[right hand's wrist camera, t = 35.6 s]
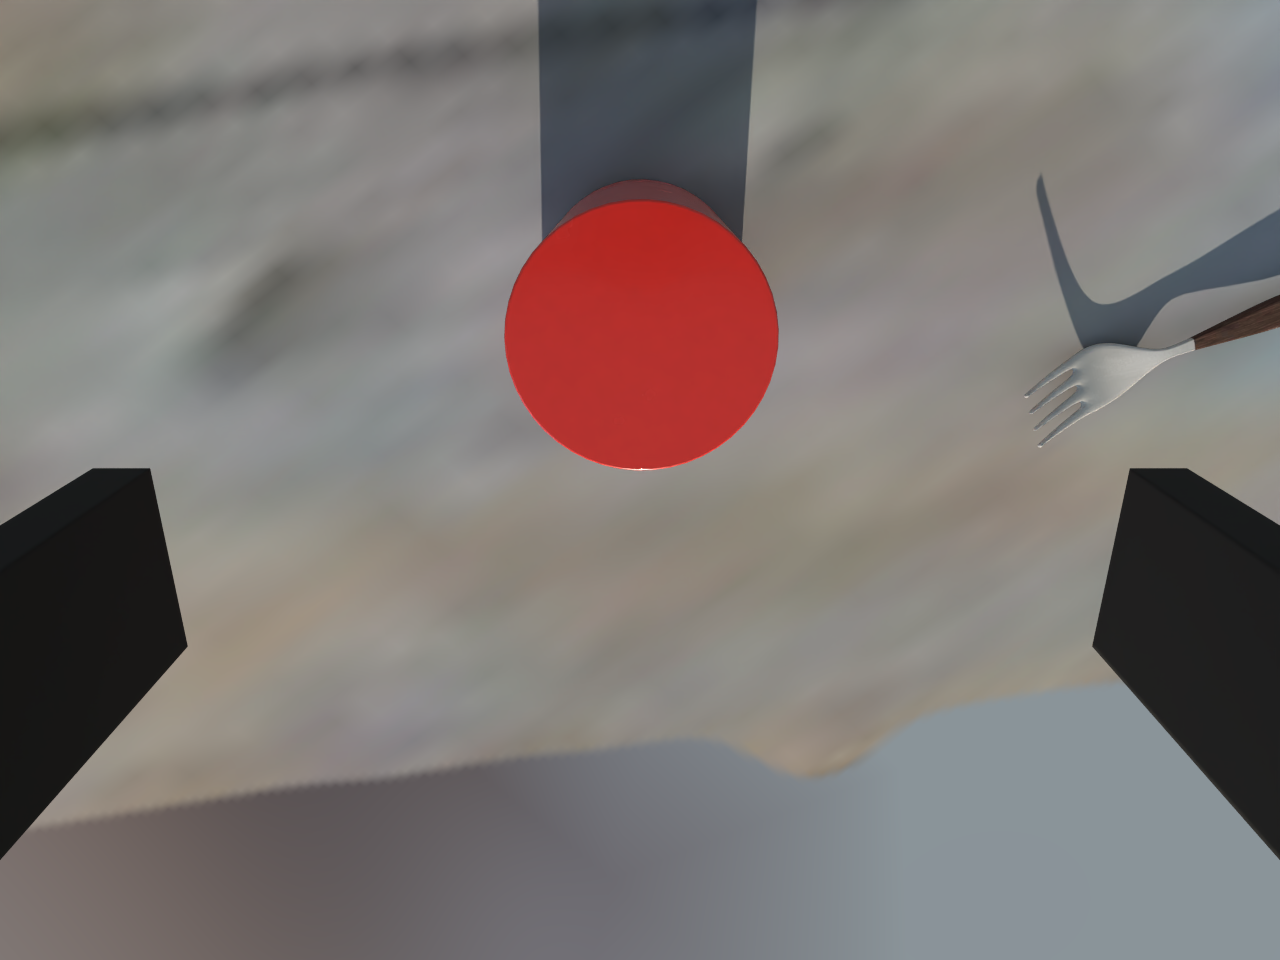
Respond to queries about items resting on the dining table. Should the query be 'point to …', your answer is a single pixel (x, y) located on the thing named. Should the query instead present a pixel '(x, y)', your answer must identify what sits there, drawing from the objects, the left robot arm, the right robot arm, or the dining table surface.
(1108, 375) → the fork
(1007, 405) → the dining table surface
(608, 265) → the red cylinder
